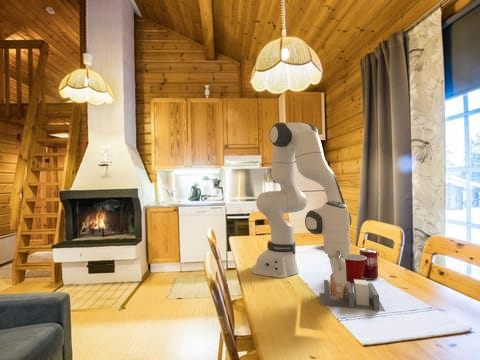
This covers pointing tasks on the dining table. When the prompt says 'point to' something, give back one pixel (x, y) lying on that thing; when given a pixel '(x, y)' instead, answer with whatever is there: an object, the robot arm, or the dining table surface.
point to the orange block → (333, 288)
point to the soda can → (370, 263)
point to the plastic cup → (354, 267)
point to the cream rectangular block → (361, 292)
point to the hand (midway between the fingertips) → (337, 287)
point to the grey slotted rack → (350, 298)
